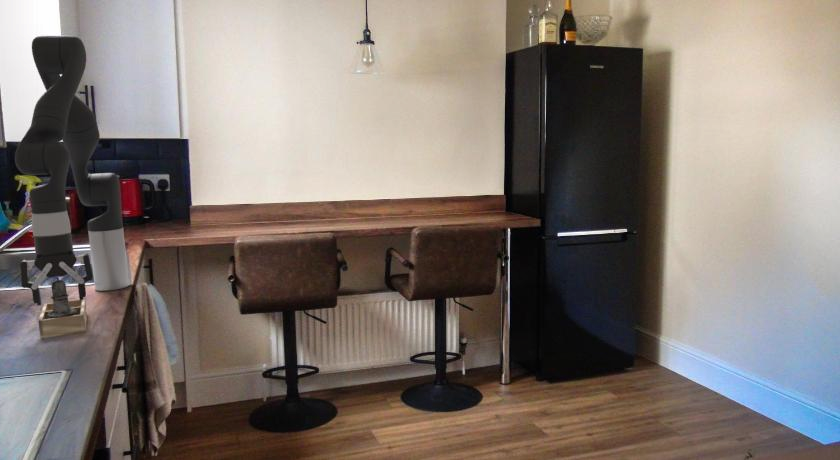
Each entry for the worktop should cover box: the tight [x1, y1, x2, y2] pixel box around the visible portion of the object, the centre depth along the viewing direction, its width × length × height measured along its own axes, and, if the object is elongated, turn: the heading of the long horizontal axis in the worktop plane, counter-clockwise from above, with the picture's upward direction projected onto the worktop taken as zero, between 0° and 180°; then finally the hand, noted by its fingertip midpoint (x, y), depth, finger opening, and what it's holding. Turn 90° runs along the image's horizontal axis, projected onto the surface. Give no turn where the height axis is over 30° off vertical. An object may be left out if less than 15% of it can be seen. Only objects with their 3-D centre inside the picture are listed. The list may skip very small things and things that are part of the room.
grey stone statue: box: [48, 276, 76, 319], centre depth 156 cm, size 6×6×12 cm
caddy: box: [38, 298, 88, 339], centre depth 160 cm, size 17×9×4 cm, turn 25°
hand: (60, 302), depth 156 cm, fingers open, 8 cm apart
